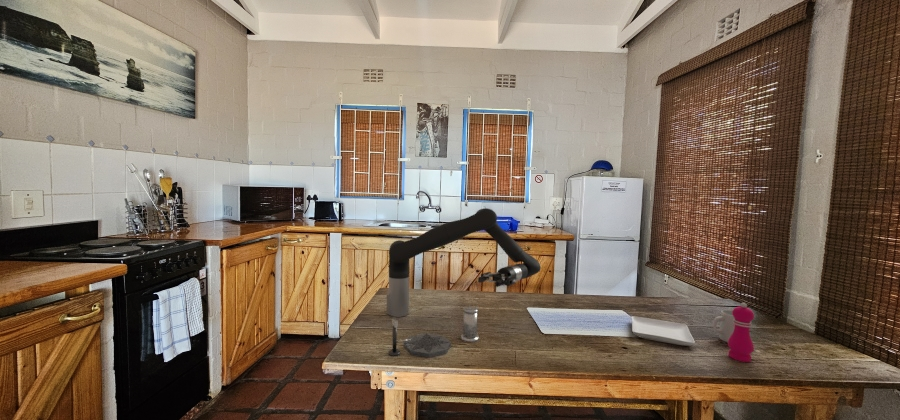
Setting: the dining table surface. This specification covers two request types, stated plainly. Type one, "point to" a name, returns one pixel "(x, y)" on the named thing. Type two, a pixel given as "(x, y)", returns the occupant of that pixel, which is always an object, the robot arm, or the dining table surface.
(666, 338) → the salad plate
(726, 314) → the mug
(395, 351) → the stand
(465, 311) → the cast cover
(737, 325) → the pepper mill
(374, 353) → the dining table surface
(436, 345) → the grey octagonal star trivet
